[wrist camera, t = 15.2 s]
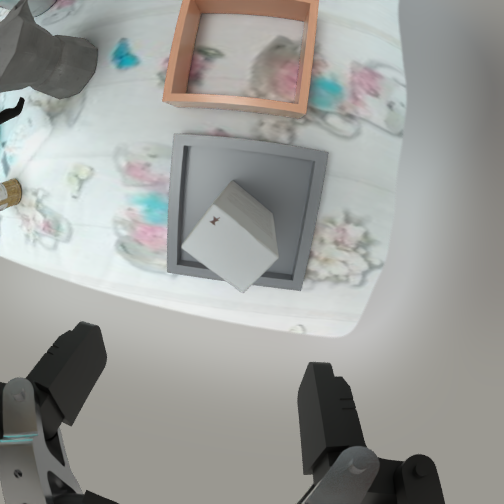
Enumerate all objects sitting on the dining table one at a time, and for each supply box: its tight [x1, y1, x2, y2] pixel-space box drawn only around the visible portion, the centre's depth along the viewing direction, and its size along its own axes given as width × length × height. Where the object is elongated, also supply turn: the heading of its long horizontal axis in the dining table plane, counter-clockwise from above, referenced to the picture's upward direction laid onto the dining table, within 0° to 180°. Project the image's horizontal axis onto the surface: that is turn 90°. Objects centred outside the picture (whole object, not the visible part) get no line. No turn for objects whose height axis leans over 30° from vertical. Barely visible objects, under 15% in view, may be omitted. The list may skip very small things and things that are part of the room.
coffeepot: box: [0, 0, 97, 124], centre depth 16 cm, size 15×9×18 cm, turn 155°
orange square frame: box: [162, 0, 319, 119], centre depth 22 cm, size 14×14×5 cm
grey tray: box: [167, 134, 328, 291], centre depth 30 cm, size 16×16×2 cm
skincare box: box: [181, 180, 279, 293], centre depth 25 cm, size 6×4×12 cm
